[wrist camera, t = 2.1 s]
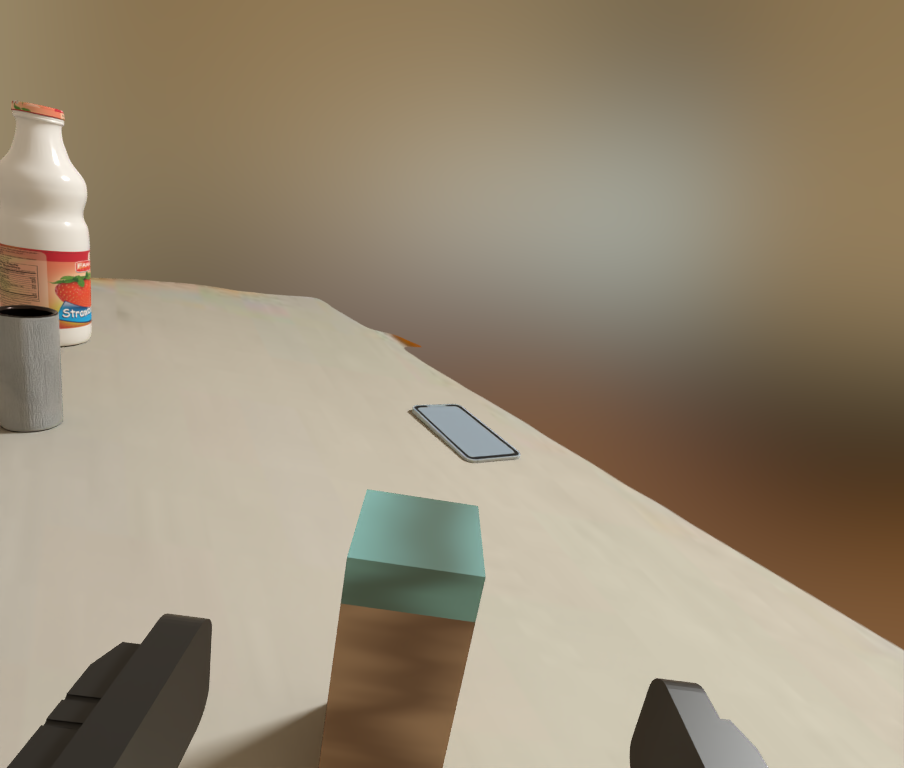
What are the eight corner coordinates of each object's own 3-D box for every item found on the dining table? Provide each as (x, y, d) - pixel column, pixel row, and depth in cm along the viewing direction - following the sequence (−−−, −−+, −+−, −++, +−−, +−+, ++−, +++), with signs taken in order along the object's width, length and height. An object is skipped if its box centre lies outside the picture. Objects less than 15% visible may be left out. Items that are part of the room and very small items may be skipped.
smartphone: (468, 461, 57) (409, 405, 69) (466, 469, 57) (408, 412, 69) (524, 455, 60) (459, 403, 72) (522, 463, 61) (458, 410, 73)
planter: (57, 410, 52) (53, 305, 49) (68, 428, 49) (63, 317, 46) (-4, 416, 49) (-13, 304, 46) (3, 435, 46) (-6, 317, 43)
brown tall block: (314, 800, 23) (347, 557, 19) (337, 698, 27) (367, 489, 24) (431, 813, 23) (485, 577, 19) (434, 711, 28) (478, 506, 24)
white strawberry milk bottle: (14, 326, 73) (-1, 99, 65) (97, 331, 77) (92, 118, 69) (-9, 345, 65) (-29, 89, 57) (85, 350, 69) (79, 111, 61)
